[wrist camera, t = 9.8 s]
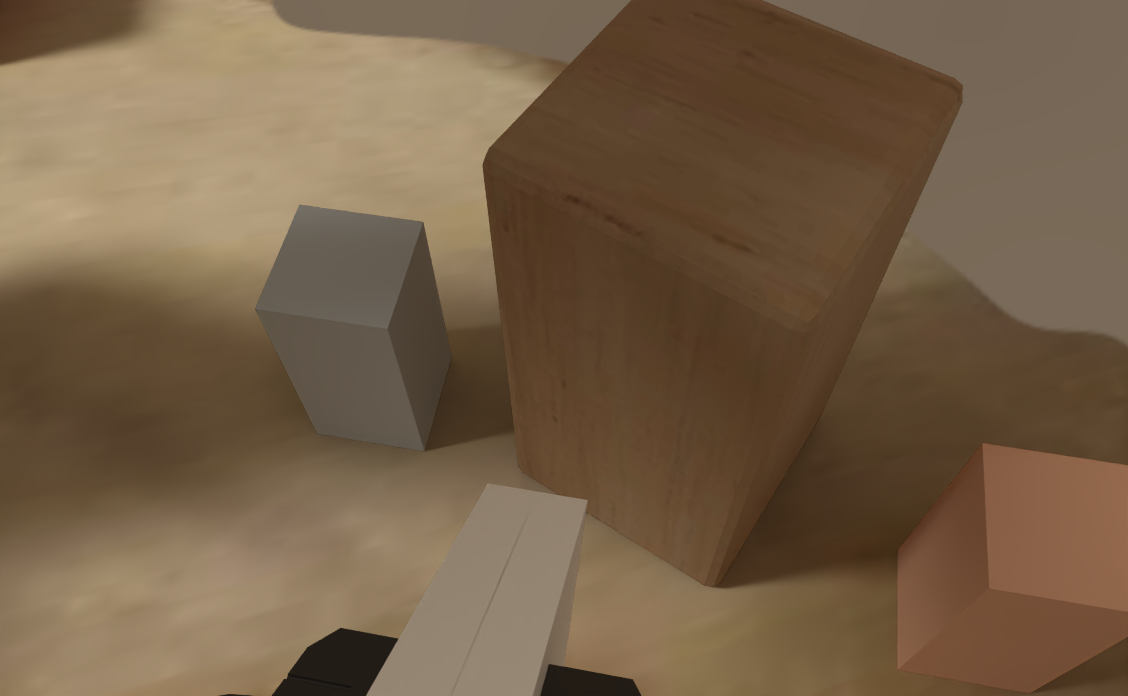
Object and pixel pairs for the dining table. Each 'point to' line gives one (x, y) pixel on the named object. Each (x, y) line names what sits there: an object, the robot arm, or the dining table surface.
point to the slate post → (359, 325)
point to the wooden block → (698, 256)
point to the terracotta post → (1016, 570)
